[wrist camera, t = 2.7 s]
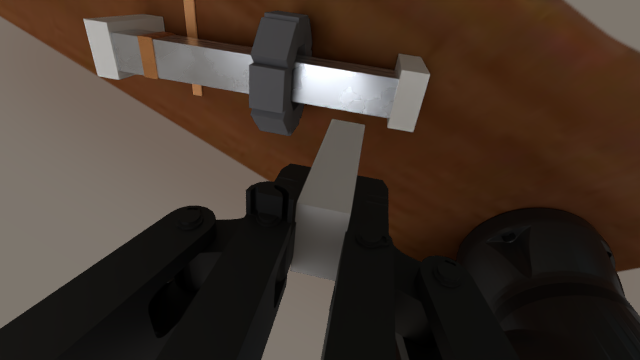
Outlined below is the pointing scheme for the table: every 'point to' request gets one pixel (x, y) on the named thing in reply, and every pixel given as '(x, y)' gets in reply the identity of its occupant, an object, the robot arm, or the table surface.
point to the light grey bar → (233, 71)
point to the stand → (102, 48)
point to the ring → (277, 70)
